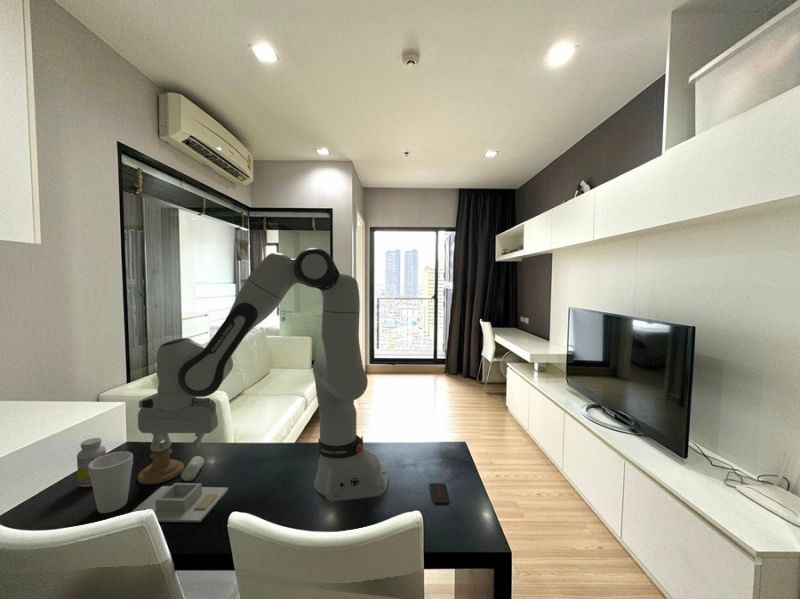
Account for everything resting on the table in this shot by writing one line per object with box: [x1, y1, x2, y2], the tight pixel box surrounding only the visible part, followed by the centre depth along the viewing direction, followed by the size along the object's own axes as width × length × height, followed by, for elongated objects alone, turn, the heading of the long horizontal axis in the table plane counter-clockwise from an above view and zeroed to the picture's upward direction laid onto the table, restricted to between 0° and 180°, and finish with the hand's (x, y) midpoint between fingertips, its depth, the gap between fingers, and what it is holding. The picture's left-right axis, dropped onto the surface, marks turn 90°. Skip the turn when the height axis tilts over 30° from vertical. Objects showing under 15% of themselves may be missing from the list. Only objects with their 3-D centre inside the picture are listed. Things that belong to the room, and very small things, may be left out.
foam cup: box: [89, 451, 134, 514], centre depth 95 cm, size 10×9×13 cm
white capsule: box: [180, 455, 205, 482], centre depth 111 cm, size 4×4×9 cm
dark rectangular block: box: [428, 482, 450, 505], centre depth 98 cm, size 5×12×3 cm, turn 1°
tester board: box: [131, 482, 229, 523], centre depth 95 cm, size 20×14×4 cm
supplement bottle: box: [76, 437, 107, 488], centre depth 106 cm, size 7×7×13 cm
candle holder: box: [137, 433, 185, 485], centre depth 110 cm, size 12×12×20 cm
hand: (179, 447), depth 95 cm, fingers open, 8 cm apart
